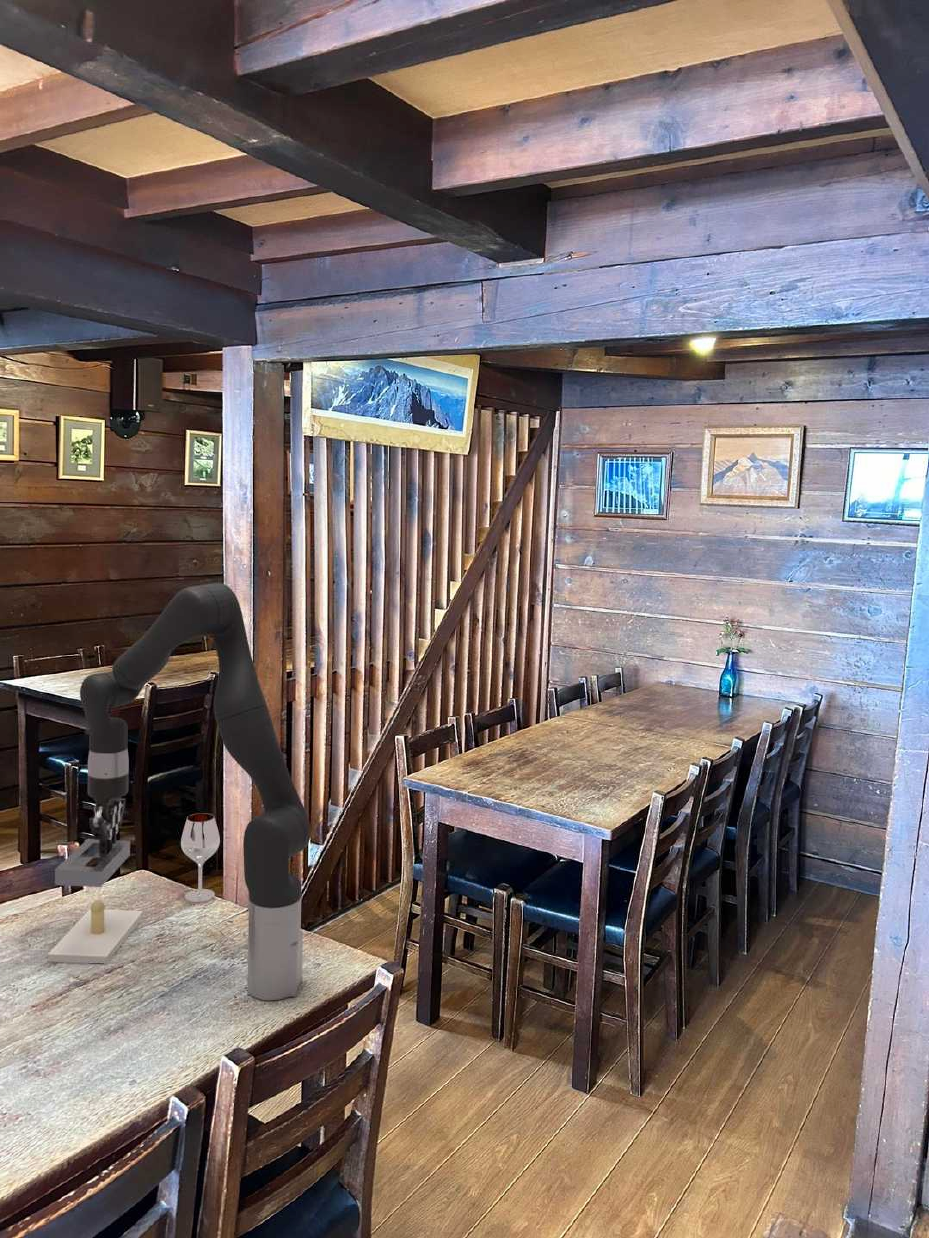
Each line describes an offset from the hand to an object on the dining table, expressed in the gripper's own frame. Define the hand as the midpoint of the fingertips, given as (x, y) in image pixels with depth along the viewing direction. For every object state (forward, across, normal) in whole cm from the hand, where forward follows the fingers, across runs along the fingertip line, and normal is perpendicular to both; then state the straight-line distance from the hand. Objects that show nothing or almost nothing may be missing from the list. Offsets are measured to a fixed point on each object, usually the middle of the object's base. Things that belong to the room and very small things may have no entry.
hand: (107, 854), depth 179 cm
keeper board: (+16, -5, 0) cm, 16 cm away
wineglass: (+16, +16, -14) cm, 27 cm away
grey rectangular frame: (0, -7, 0) cm, 7 cm away
